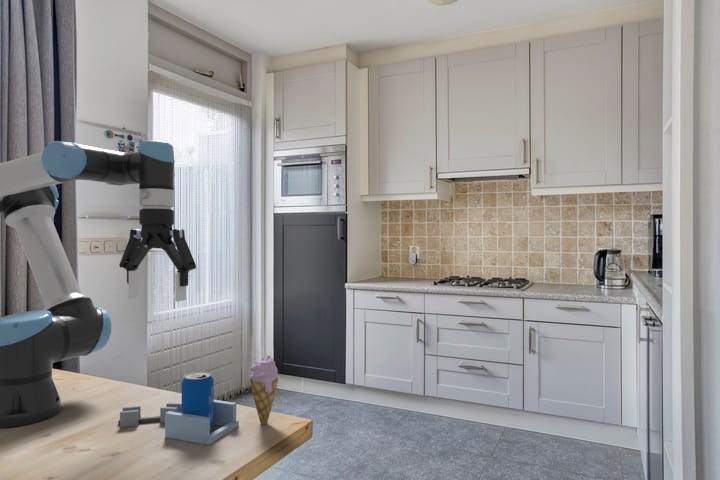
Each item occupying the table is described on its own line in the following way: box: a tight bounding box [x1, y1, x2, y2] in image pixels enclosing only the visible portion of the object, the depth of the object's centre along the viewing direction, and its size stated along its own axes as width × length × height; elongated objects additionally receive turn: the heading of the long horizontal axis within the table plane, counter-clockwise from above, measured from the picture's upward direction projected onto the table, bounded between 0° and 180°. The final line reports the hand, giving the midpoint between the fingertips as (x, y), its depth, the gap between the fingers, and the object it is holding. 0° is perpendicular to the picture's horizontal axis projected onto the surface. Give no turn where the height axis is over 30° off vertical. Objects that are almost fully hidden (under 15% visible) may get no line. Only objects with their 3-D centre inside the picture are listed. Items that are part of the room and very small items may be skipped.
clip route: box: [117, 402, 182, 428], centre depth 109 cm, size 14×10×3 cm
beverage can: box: [181, 370, 215, 430], centre depth 105 cm, size 6×6×12 cm
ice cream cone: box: [248, 354, 279, 426], centre depth 108 cm, size 7×6×15 cm
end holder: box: [164, 399, 240, 446], centre depth 104 cm, size 11×10×5 cm
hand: (157, 299), depth 115 cm, fingers open, 13 cm apart
